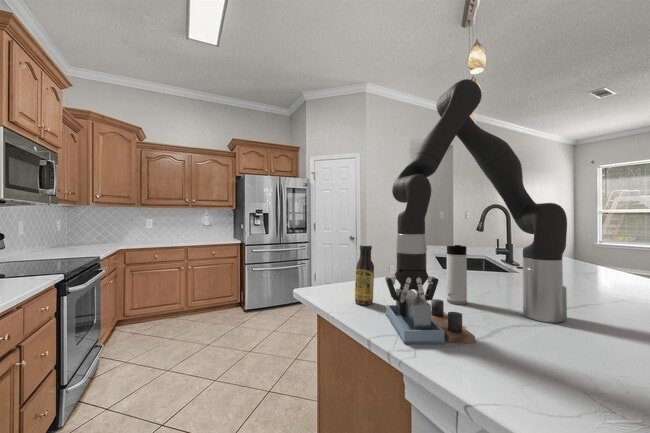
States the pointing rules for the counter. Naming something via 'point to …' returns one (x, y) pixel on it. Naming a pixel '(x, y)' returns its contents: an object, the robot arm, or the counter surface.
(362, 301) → the sauce bottle
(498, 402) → the counter surface
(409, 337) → the slot tray
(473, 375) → the counter surface
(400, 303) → the robot arm
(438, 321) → the peg rack
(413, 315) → the steel bar
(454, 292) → the travel mug
